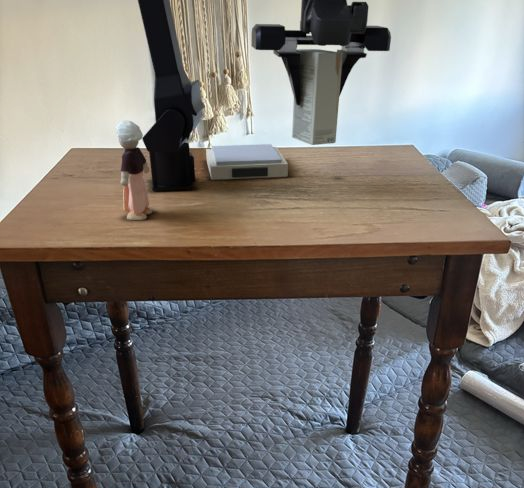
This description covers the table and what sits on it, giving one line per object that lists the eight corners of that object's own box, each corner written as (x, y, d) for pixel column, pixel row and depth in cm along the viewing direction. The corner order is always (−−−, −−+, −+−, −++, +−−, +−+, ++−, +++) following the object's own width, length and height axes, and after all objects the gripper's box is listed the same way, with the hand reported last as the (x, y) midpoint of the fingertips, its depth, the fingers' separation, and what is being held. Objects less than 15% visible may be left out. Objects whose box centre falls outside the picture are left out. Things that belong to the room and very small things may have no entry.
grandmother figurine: (130, 206, 82) (119, 114, 75) (156, 207, 82) (147, 115, 75) (118, 225, 76) (103, 127, 69) (146, 226, 76) (134, 127, 69)
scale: (211, 180, 93) (210, 163, 92) (206, 161, 104) (205, 145, 102) (288, 177, 95) (288, 160, 93) (275, 158, 105) (276, 143, 104)
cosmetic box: (336, 144, 84) (345, 52, 77) (312, 146, 82) (319, 52, 75) (313, 134, 89) (320, 47, 82) (289, 137, 87) (295, 47, 80)
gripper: (262, -25, 66) (260, 116, 75) (413, -21, 68) (394, 115, 77) (251, -24, 75) (250, 101, 84) (384, -21, 78) (370, 100, 86)
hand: (315, 104), depth 82 cm, fingers closed on cosmetic box, 5 cm apart
